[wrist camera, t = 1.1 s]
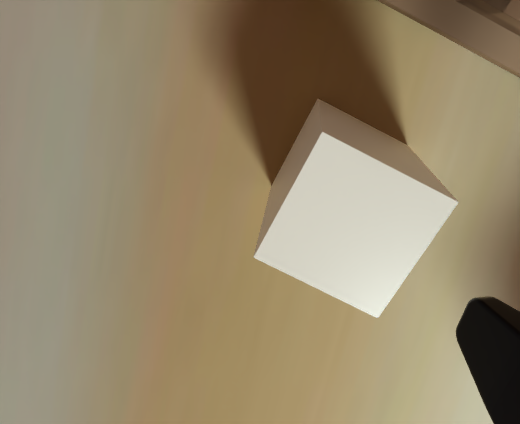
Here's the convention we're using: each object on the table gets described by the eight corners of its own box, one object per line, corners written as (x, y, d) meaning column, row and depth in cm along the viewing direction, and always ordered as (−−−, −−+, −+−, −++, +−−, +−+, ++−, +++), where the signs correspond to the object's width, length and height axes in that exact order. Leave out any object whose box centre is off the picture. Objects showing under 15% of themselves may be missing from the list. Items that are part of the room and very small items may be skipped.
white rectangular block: (407, 145, 19) (458, 202, 13) (355, 228, 21) (377, 318, 14) (317, 98, 19) (322, 131, 12) (271, 185, 20) (253, 257, 14)
